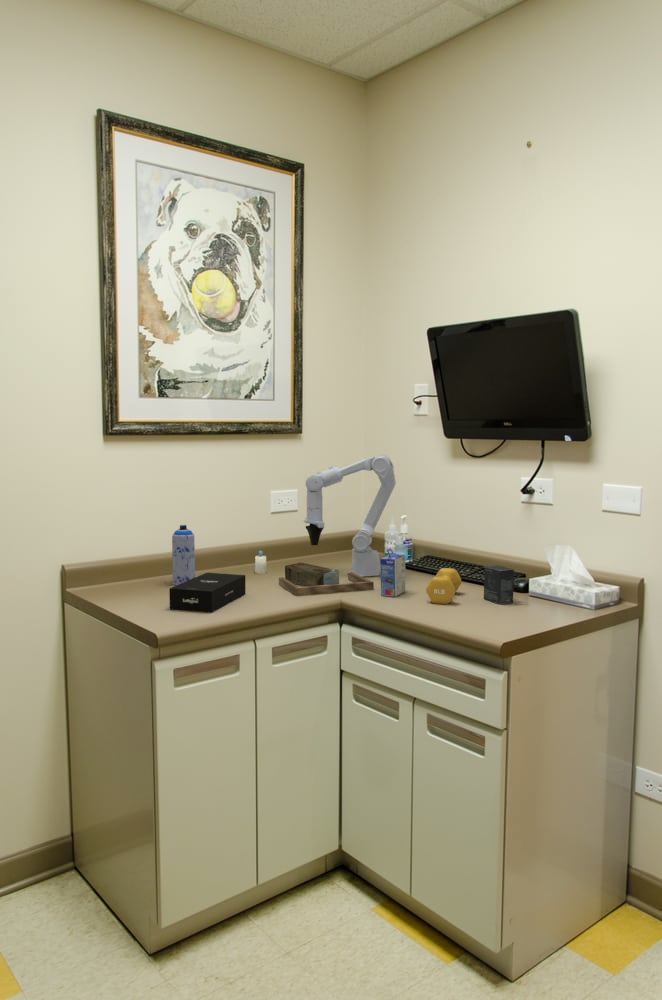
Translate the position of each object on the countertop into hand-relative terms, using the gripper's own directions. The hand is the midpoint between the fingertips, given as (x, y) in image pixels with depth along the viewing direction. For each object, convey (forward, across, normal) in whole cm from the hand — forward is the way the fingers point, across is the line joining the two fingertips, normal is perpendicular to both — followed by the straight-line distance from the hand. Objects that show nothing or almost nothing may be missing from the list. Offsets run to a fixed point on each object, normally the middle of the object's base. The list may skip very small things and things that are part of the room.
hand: (314, 545), depth 278 cm
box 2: (+11, +61, +38) cm, 73 cm away
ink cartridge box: (+11, +40, +12) cm, 43 cm away
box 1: (+11, +30, -46) cm, 56 cm away
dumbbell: (+11, +51, +24) cm, 58 cm away
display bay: (+10, +24, -5) cm, 27 cm away
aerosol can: (+11, +1, -48) cm, 49 cm away
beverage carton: (+11, +18, -8) cm, 23 cm away
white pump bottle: (+10, -8, -18) cm, 22 cm away
